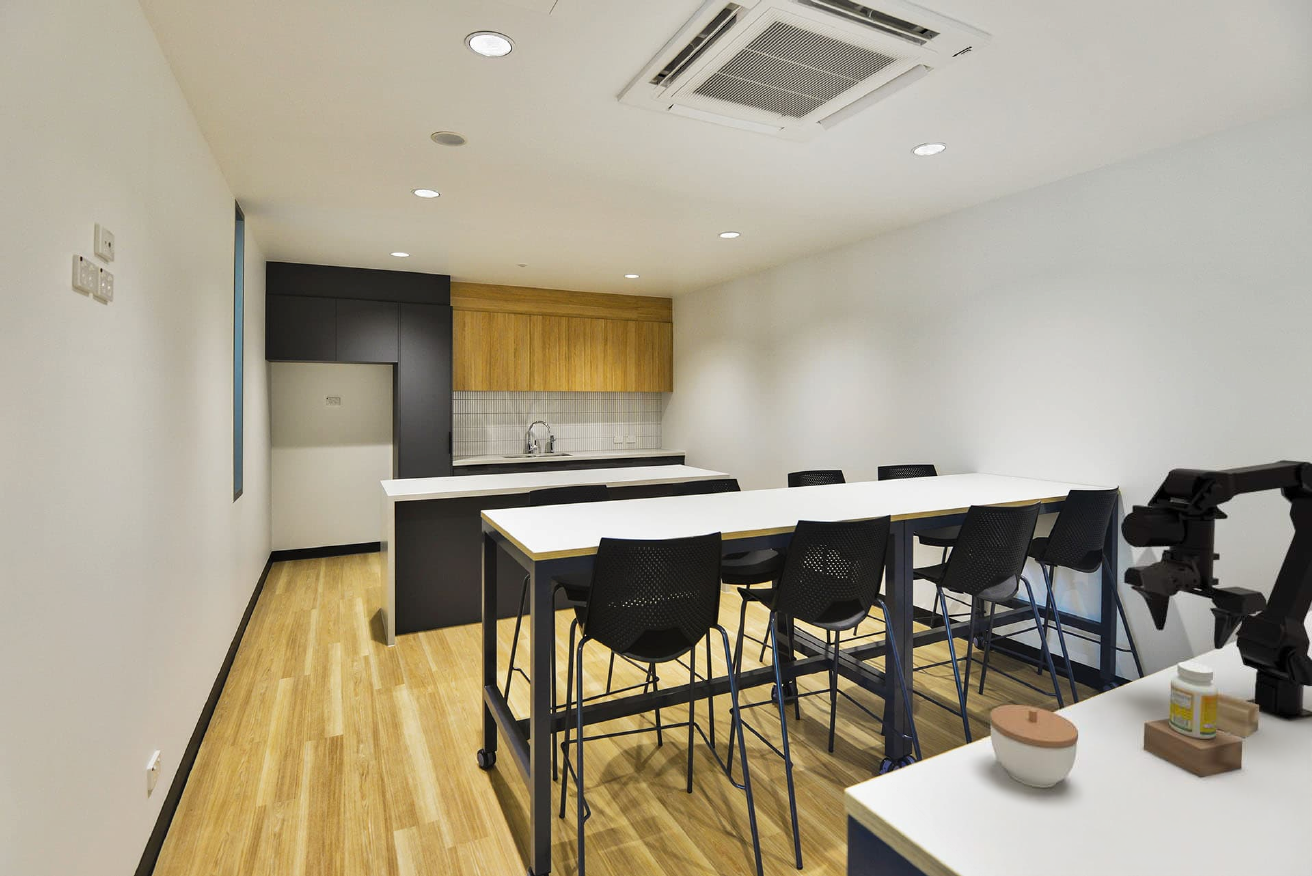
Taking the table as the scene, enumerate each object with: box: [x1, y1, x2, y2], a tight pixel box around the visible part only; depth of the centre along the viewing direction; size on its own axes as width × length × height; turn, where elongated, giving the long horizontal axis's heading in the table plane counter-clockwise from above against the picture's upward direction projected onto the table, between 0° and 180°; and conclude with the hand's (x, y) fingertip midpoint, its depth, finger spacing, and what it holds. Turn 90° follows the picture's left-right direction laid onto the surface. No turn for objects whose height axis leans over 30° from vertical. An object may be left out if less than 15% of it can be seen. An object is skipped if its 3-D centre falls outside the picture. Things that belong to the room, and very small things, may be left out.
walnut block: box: [1143, 717, 1243, 778], centre depth 97 cm, size 8×8×4 cm
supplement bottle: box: [1168, 661, 1219, 739], centre depth 96 cm, size 5×5×10 cm
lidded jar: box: [989, 704, 1079, 789], centre depth 92 cm, size 11×11×9 cm
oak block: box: [1216, 693, 1260, 739], centre depth 106 cm, size 5×5×4 cm
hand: (1188, 638), depth 109 cm, fingers open, 9 cm apart
